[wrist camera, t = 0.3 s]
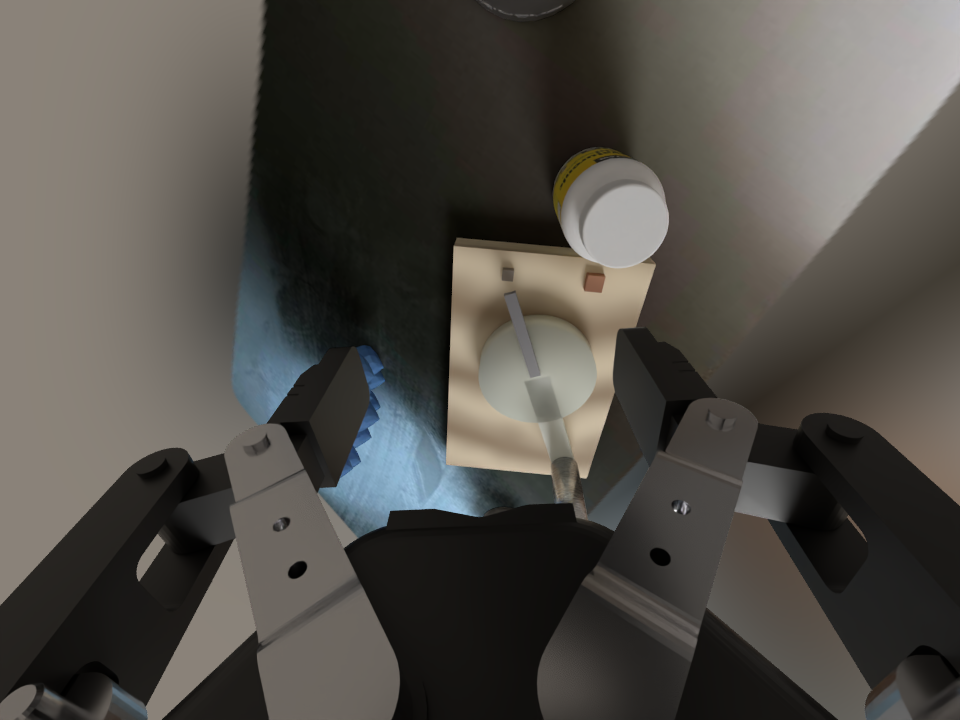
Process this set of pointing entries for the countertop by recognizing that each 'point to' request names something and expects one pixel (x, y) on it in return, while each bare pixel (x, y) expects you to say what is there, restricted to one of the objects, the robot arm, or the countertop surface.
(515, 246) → the dial base
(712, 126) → the countertop surface
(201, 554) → the robot arm
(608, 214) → the supplement bottle
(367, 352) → the grapes
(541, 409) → the dial
